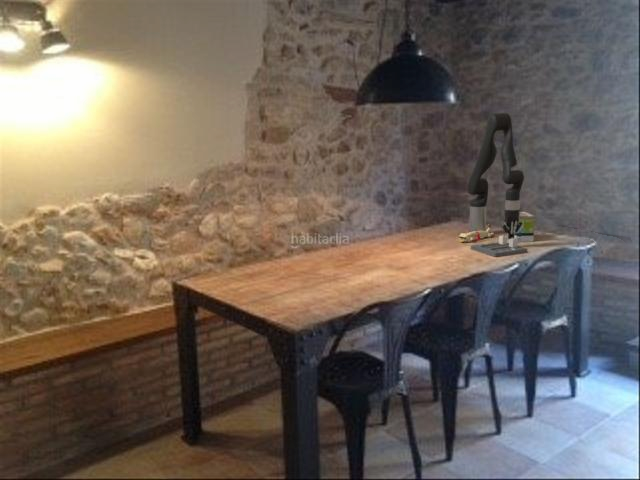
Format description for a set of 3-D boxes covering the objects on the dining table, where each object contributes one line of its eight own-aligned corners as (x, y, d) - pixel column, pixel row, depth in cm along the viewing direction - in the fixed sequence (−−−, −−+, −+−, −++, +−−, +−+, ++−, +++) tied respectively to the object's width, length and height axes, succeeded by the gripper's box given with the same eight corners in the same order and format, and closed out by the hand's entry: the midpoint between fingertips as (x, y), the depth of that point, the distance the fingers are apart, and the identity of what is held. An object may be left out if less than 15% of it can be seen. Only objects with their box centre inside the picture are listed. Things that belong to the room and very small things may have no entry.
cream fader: (498, 243, 308) (499, 235, 307) (503, 242, 309) (503, 234, 308) (502, 244, 305) (502, 236, 304) (507, 243, 306) (507, 235, 305)
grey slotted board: (470, 249, 308) (470, 244, 307) (501, 244, 315) (501, 240, 314) (495, 257, 289) (495, 252, 289) (527, 252, 296) (527, 247, 296)
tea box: (534, 241, 319) (535, 215, 316) (515, 242, 319) (516, 216, 316) (525, 236, 334) (526, 210, 330) (507, 236, 334) (508, 211, 331)
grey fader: (508, 246, 301) (509, 237, 300) (513, 245, 302) (513, 237, 301) (512, 247, 298) (513, 238, 297) (517, 246, 299) (517, 238, 298)
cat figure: (483, 237, 341) (453, 240, 327) (484, 222, 339) (454, 225, 325) (496, 240, 332) (466, 243, 319) (498, 225, 331) (467, 227, 317)
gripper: (517, 206, 311) (516, 237, 315) (497, 208, 306) (496, 240, 310) (527, 208, 304) (525, 240, 308) (506, 210, 299) (505, 243, 303)
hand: (511, 240), depth 309 cm, fingers closed
